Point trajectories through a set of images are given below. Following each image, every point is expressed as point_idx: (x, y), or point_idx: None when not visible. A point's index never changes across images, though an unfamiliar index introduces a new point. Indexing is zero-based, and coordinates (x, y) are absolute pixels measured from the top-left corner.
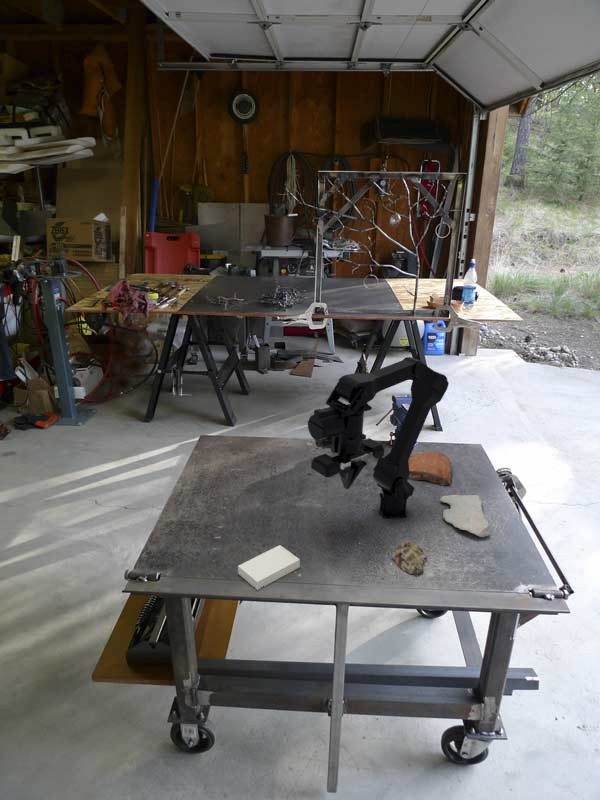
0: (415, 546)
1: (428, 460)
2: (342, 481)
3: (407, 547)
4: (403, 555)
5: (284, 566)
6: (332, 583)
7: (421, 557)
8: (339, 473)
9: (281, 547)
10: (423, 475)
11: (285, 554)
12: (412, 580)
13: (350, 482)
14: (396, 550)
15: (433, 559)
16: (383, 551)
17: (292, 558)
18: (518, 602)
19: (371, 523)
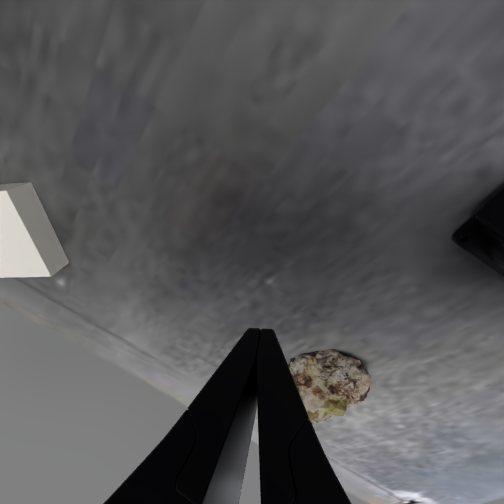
0: (342, 413)
1: None
2: (220, 372)
3: (329, 397)
4: (304, 392)
5: (3, 274)
6: (121, 336)
7: (330, 416)
8: (159, 448)
9: (8, 204)
10: None
11: (15, 237)
12: None
13: (250, 430)
14: (315, 364)
15: (366, 404)
16: (297, 335)
17: (32, 262)
18: (369, 498)
19: (386, 234)
